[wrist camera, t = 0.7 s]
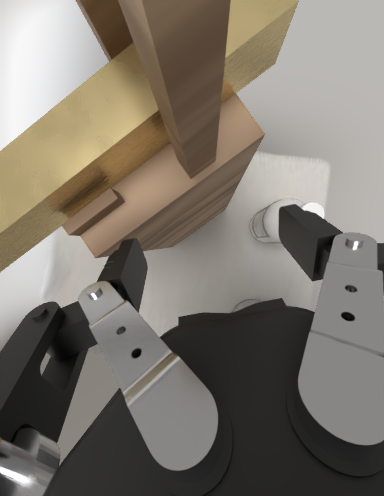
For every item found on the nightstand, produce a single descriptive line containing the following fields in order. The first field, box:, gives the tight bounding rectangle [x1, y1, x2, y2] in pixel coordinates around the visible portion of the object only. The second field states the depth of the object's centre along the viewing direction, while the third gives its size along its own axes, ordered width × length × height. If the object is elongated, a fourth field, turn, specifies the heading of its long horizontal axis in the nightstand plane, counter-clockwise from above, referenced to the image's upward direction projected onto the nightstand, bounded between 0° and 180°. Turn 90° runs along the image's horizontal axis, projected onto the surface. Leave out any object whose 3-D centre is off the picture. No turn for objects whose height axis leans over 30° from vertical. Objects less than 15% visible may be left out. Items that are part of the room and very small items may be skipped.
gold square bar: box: [0, 0, 298, 272], centre depth 13 cm, size 4×26×4 cm, turn 125°
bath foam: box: [250, 199, 325, 243], centre depth 35 cm, size 7×7×20 cm
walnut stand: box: [62, 0, 265, 258], centre depth 24 cm, size 10×14×44 cm
